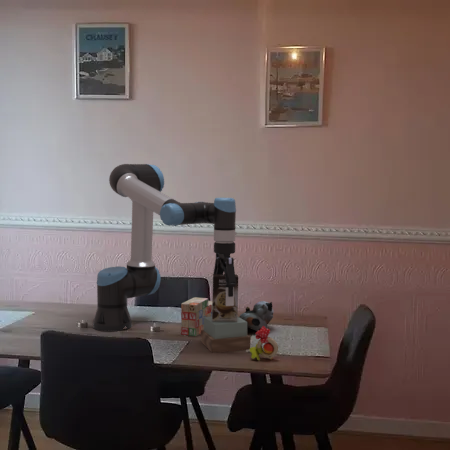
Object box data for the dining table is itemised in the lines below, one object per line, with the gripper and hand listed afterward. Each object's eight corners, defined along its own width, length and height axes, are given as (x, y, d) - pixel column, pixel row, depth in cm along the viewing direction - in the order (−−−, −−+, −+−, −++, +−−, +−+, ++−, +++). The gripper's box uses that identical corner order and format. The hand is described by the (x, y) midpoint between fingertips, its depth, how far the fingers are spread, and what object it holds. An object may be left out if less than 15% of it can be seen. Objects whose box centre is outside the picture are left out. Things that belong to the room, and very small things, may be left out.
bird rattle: (272, 362, 205) (248, 350, 207) (285, 333, 204) (261, 321, 205) (269, 368, 199) (244, 355, 201) (283, 339, 197) (258, 326, 199)
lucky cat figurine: (237, 325, 247) (252, 294, 249) (263, 338, 245) (278, 307, 247) (234, 323, 232) (250, 290, 234) (262, 337, 230) (278, 304, 232)
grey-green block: (203, 330, 221) (203, 317, 221) (234, 327, 225) (234, 314, 225) (215, 339, 210) (215, 324, 209) (247, 336, 214) (247, 322, 214)
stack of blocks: (203, 322, 252) (203, 292, 251) (217, 323, 250) (217, 294, 249) (180, 334, 232) (181, 303, 231) (195, 336, 230) (196, 304, 229)
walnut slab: (201, 343, 222) (201, 329, 222) (237, 340, 227) (237, 327, 226) (212, 354, 209) (212, 340, 209) (250, 350, 213) (250, 336, 213)
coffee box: (212, 322, 213) (212, 276, 212) (211, 317, 219) (212, 273, 218) (238, 322, 213) (238, 276, 212) (237, 318, 220) (237, 273, 219)
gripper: (246, 245, 202) (245, 308, 204) (224, 237, 226) (224, 294, 228) (224, 246, 200) (223, 309, 202) (205, 238, 224) (204, 295, 226)
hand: (224, 301), depth 215 cm, fingers open, 13 cm apart
